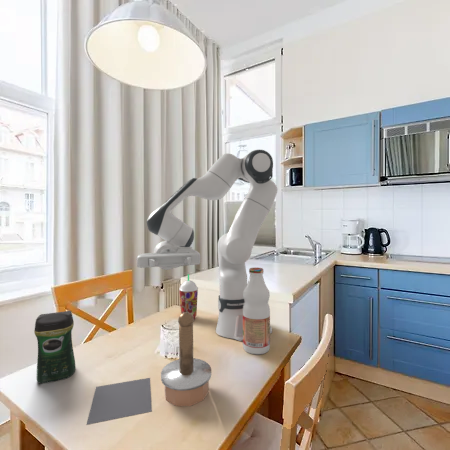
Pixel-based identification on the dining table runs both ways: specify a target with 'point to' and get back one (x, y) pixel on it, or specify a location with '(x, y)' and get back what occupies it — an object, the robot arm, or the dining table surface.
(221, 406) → the dining table surface
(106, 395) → the mat
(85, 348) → the dining table surface
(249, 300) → the fruit juice
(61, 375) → the coffee jar
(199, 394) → the bowl
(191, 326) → the peg on round base
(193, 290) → the smoothie
